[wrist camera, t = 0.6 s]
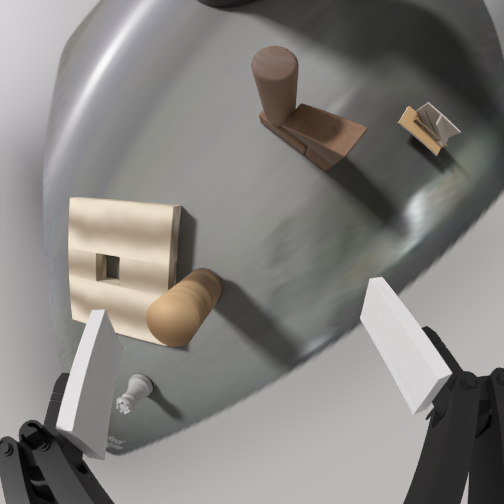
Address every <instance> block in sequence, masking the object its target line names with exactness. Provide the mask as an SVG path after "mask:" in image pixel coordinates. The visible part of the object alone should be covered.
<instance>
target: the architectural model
mask: <svg viewBox="0 0 504 504" xmlns="http://www.w3.org/2000/svg"><path fill="white" fill-rule="evenodd" d="M398 123H399V124H400V125H401V126H402V127H404V128H405V129H406V130H407V131H408V132H410V133H411V134H412V135H413V136H414V137H416V138H417V139H418V140H419V141H420V142H422V143H423V144H424V145H425V146H426V147H427V148H428V149H429V150H431V151H432V152H433V153H434V154H435V155H438V153H439V151H440V149H441V148H443V147H445V146H447V145H446V143H447V141H448V139H449V138H448V137H450V136H452V135H455V134H458V133H460V132H461V131H460V130H459V129H457V128H456V127H455V126H454V125H453V124H452V123H451V122H450V121H449V120H448V119H447V118H446V117H445V116H444V115H443V114H441V113H440V112H439V111H438V110H437V109H436V108H435V107H433V106H432V105H431V104H430V103H429V102H428V103H427V104H425V105H424V106H422V107H421V108H419V109H418V110H416V111H415V110H413V109H412V108H411V107H410V106H408V107H407V109H406V110H405V112H404V114H403V115H402V117H401V119H400V120H399V122H398Z"/></svg>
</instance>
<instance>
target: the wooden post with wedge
mask: <svg viewBox="0 0 504 504" xmlns="http://www.w3.org/2000/svg"><path fill="white" fill-rule="evenodd" d="M251 65H252V71H253V75H254V78H255V82H256V85H257V88H258V92H259V95H260V99H261V102H262V106H263V109H264V110H263V111H262V112H261V113H260V114H259V118H260V121H261V123H262V124H263V125H264V126H266V127H267V128H269V129H270V130H271V131H273V132H274V133H275V134H277V135H278V136H280V137H281V138H282V139H284V140H285V141H286V142H288V143H289V144H290V145H291V146H293V147H294V148H295V149H297V150H298V151H299V152H301V153H302V154H305V156H306V157H307V158H308V159H309V160H311V161H312V162H313V163H314V164H316V165H317V166H318V167H319V168H321V169H322V170H323V171H327V170H328V169H330V168H331V167H332V166H334V165H335V164H337V163H338V162H339V161H341V160H342V159H343V158H345V157H346V156H347V155H348V154H349V152H350V151H351V150H352V149H353V147H354V146H355V145H356V144H357V142H358V141H359V140H360V139H361V137H362V136H363V135H364V134H365V132H366V131H367V130H368V128H367V127H365V126H363V125H360V124H358V123H355V122H353V121H350V120H348V119H345V118H342V117H340V116H337V115H334V114H332V113H329V112H326V111H323V110H320V109H317V108H314V107H312V106H308V105H305V104H300V105H299V106H298V108H297V109H295V107H296V94H297V80H298V61H297V58H296V57H295V55H294V54H293V53H292V52H291V51H289V50H288V49H286V48H283V47H279V46H270V47H266V48H264V49H262V50H260V51H259V52H258V53H257V54H256V55H255V56H254V58H253V60H252V64H251Z"/></svg>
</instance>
